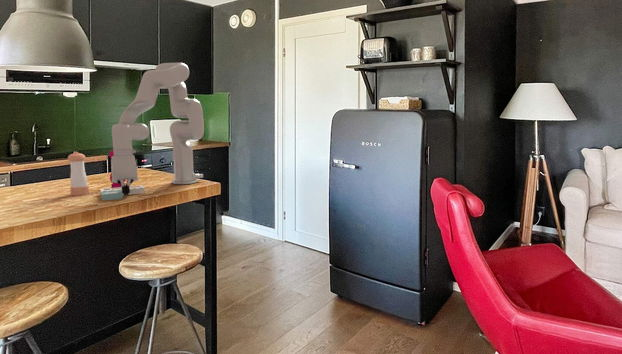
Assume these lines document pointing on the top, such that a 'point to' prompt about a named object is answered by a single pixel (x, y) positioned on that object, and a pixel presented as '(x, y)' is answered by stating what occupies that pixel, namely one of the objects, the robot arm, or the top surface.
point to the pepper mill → (114, 185)
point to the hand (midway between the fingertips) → (126, 194)
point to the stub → (112, 195)
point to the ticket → (133, 189)
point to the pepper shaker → (78, 174)
